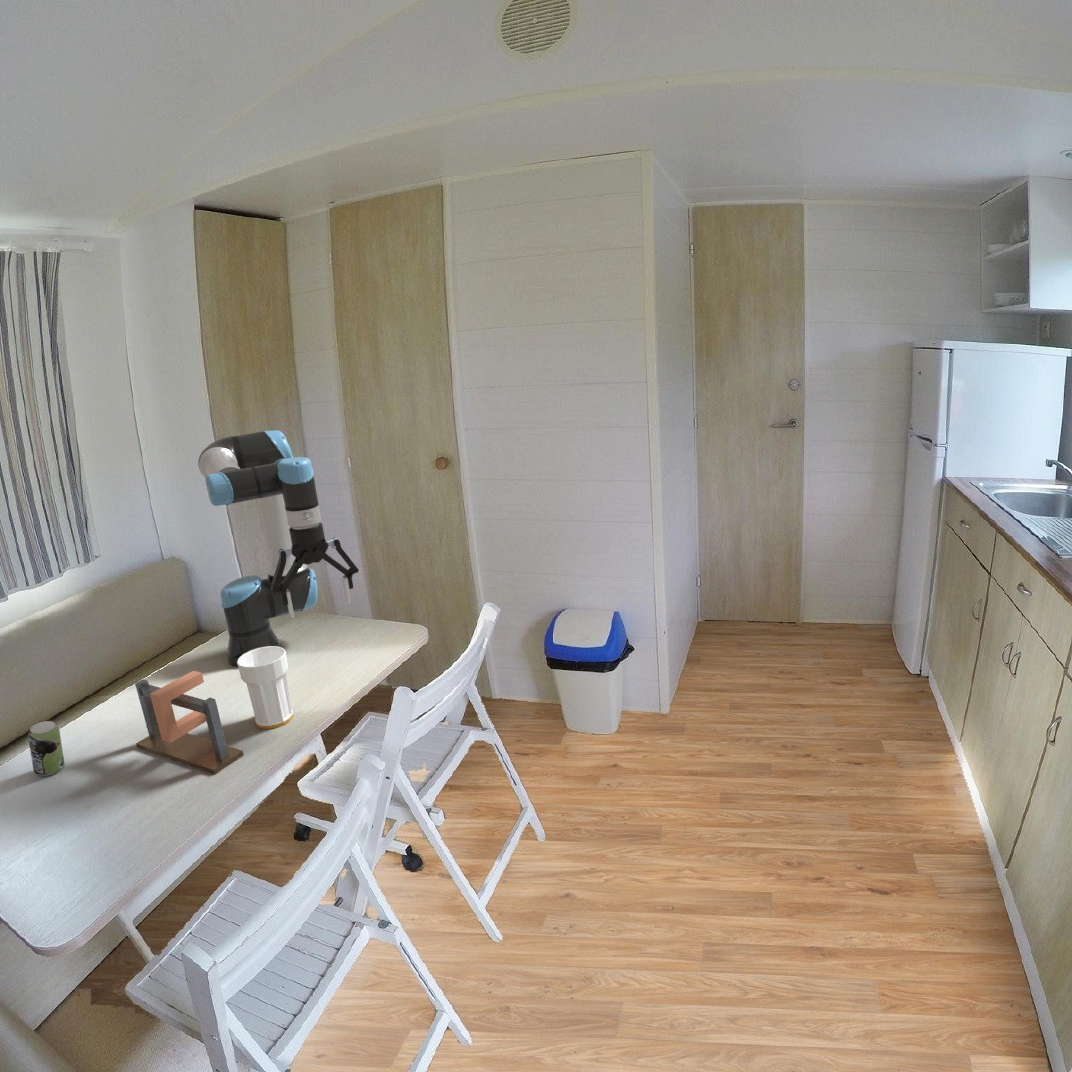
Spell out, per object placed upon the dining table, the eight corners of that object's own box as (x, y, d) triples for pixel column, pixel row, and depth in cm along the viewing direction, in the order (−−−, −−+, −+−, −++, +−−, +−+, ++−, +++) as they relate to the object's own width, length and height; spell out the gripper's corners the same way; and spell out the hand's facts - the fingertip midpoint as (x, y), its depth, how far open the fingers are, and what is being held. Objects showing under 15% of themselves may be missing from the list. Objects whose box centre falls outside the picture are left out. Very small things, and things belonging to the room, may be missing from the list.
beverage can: (43, 765, 180) (29, 720, 177) (76, 761, 181) (62, 716, 177) (29, 781, 174) (14, 735, 171) (62, 777, 175) (48, 731, 171)
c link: (162, 740, 176) (149, 693, 172) (204, 715, 185) (193, 670, 182) (170, 742, 174) (158, 696, 171) (212, 717, 184) (201, 672, 180)
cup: (241, 728, 189) (226, 664, 184) (271, 704, 199) (258, 644, 193) (278, 734, 185) (264, 669, 179) (307, 710, 195) (295, 648, 189)
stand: (137, 747, 184) (120, 688, 179) (166, 730, 191) (151, 672, 186) (215, 774, 171) (199, 711, 166) (243, 755, 177) (229, 693, 172)
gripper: (251, 540, 169) (270, 627, 176) (362, 517, 180) (375, 600, 186) (247, 532, 176) (264, 617, 182) (354, 510, 186) (367, 591, 193)
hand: (321, 609), depth 184 cm, fingers open, 13 cm apart
